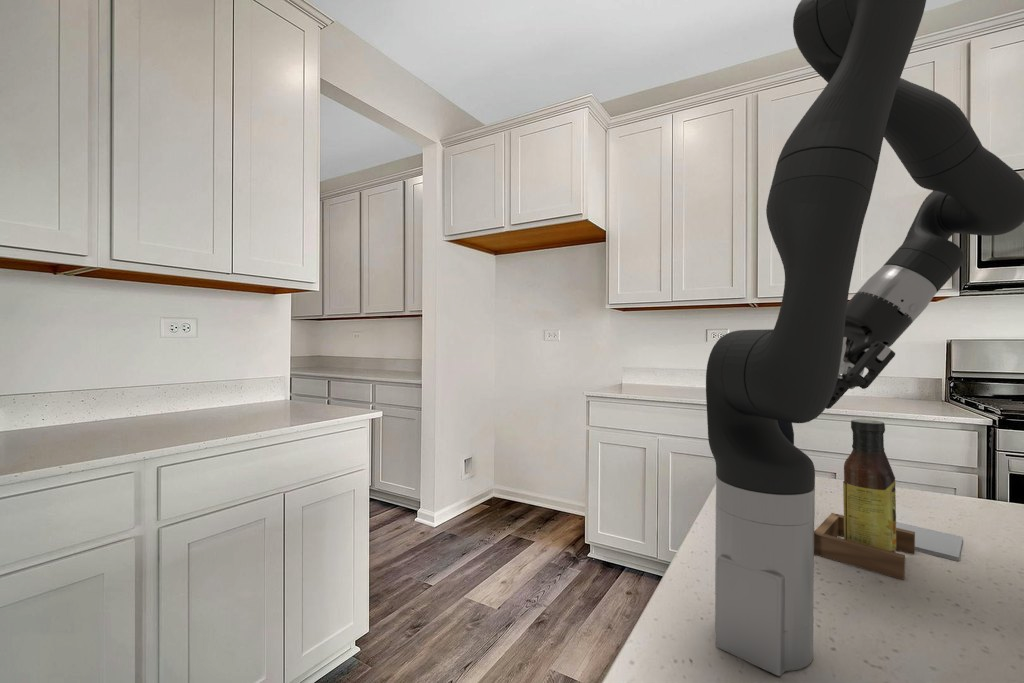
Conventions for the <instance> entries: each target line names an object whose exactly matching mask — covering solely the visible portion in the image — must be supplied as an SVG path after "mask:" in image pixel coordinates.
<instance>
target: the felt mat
mask: <svg viewBox="0 0 1024 683" xmlns="http://www.w3.org/2000/svg"><path fill="white" fill-rule="evenodd" d="M896 528H900V529H904V530H908V531H913V532H915V552H919V553H924V554H927V555H932V556H936V557H939V558H944V559H947V560H951V561H955V562H960V557H961V553H962V547H963V539H964V536H961V535H956V534H952V533H948V532H945V531H944V532H943V531H940V530H939V531H938V530H935V529H930V528H926V527H921V526H917V525H912V524H907V523H905V522H904V523H903V522H900V521H899V522H897V521H896Z"/></svg>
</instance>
